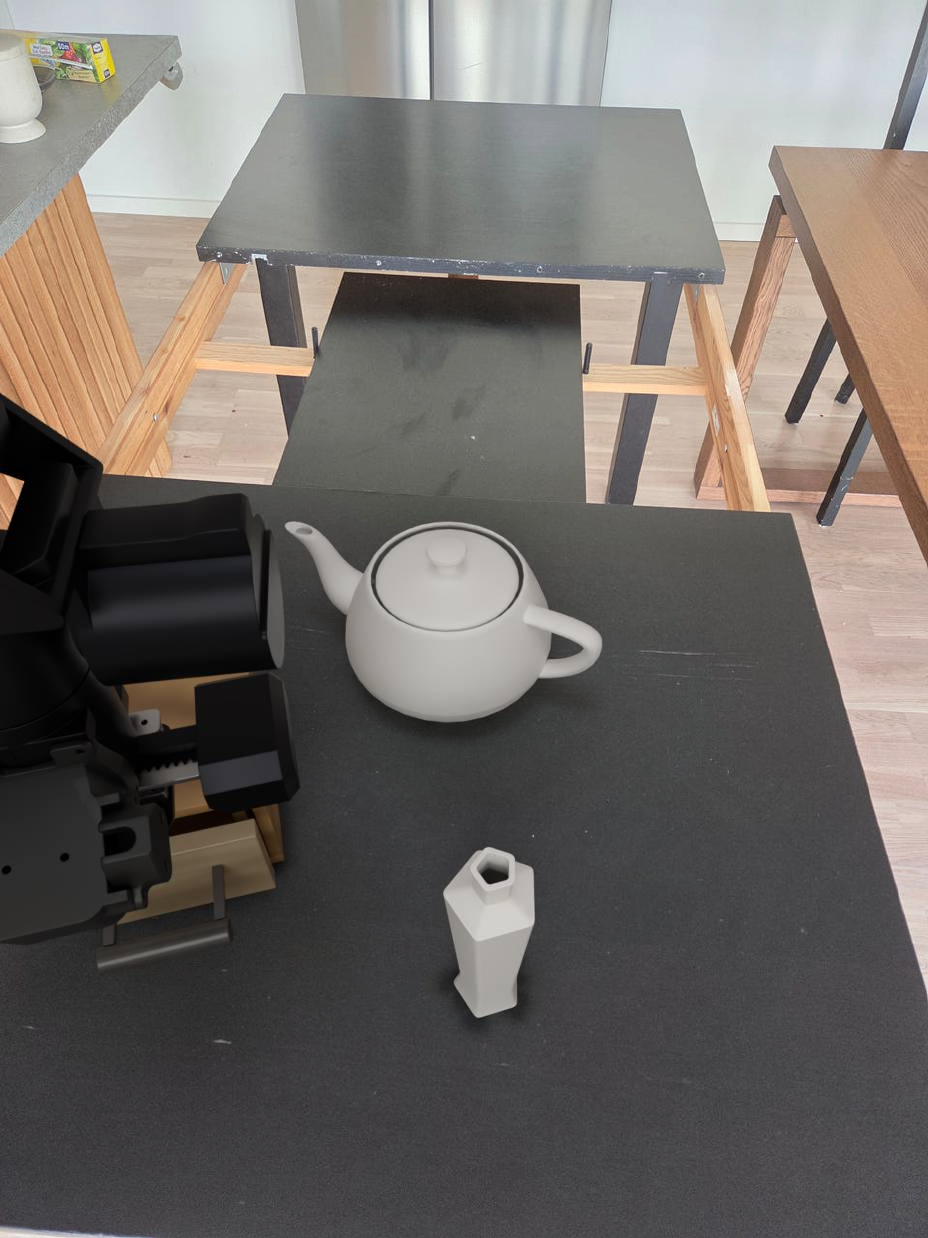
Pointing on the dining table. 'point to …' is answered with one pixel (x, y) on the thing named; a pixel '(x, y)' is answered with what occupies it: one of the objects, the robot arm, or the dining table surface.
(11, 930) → the robot arm
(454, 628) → the teapot
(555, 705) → the dining table surface
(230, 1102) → the dining table surface
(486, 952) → the white faceted vase
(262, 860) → the drawer
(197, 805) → the cabinet
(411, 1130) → the dining table surface
